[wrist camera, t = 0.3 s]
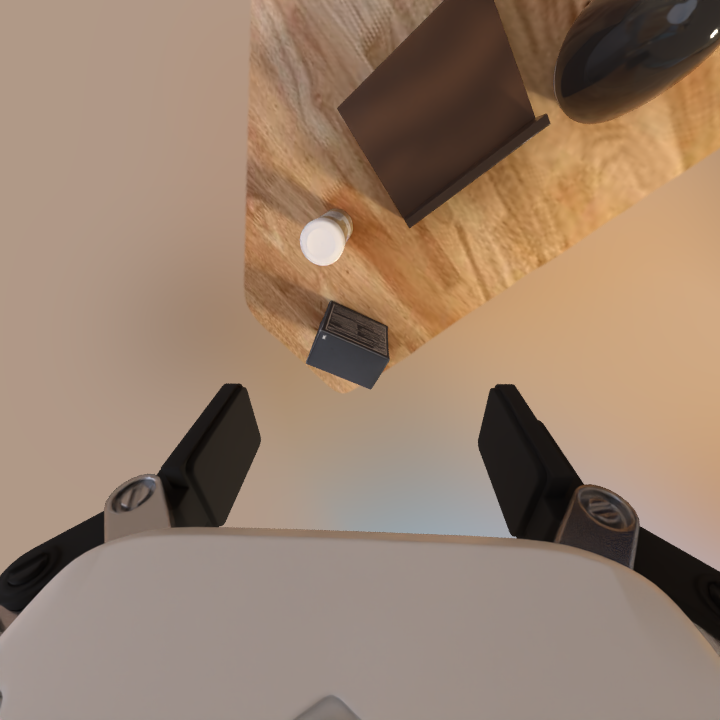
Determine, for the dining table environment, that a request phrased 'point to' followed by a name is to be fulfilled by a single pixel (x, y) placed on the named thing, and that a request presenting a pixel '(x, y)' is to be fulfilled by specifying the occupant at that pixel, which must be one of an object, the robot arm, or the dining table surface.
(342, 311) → the small box
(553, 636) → the robot arm
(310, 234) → the sprinkles bottle
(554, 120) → the dining table surface
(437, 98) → the shelf
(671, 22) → the pump dispenser
